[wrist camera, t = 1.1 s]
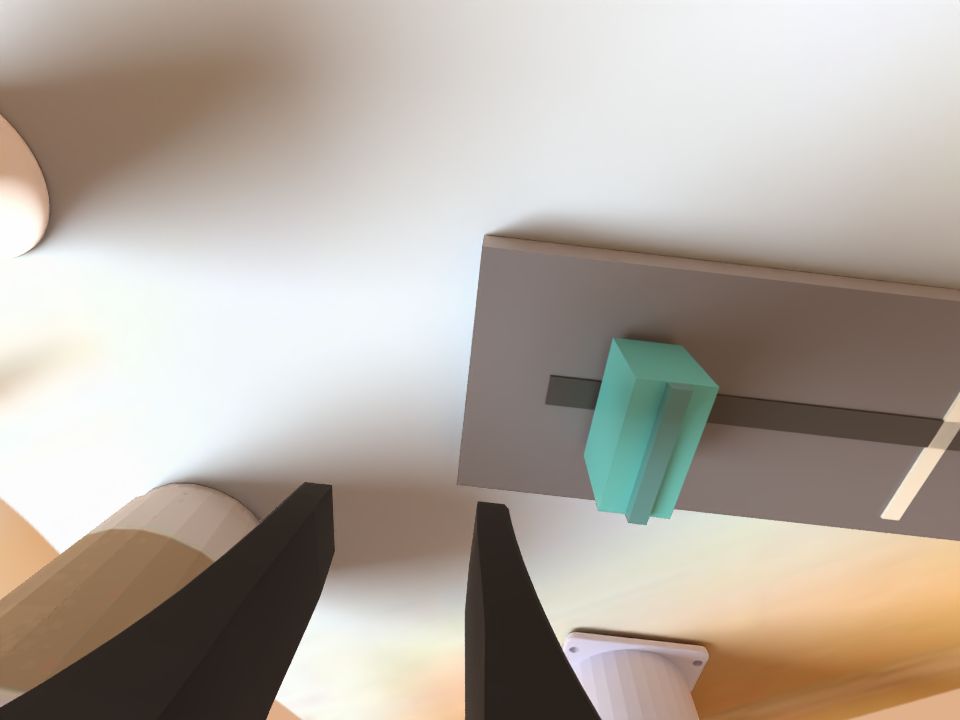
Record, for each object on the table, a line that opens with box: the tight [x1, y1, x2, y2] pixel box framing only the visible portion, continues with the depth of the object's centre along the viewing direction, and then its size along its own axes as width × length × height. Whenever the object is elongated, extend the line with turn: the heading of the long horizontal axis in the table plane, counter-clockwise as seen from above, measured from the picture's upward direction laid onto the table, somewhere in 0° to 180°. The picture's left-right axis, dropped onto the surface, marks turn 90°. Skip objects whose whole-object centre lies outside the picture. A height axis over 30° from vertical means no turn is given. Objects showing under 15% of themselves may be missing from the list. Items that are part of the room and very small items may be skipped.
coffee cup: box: [0, 483, 260, 707], centre depth 17 cm, size 11×11×15 cm
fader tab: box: [584, 338, 719, 525], centre depth 15 cm, size 5×2×3 cm, turn 174°
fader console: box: [457, 235, 960, 541], centre depth 18 cm, size 10×24×2 cm, turn 84°
